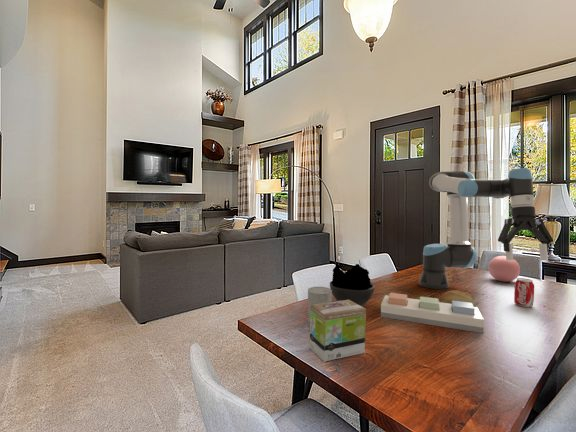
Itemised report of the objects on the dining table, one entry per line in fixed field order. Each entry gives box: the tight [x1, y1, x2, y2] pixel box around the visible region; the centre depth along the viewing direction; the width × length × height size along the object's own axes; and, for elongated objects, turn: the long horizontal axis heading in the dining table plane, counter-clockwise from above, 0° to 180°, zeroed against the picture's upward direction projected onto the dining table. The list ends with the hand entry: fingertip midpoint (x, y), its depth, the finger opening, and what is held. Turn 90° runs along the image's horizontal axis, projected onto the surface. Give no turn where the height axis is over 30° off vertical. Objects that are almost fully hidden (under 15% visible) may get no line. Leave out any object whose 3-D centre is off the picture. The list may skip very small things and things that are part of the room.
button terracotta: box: [388, 292, 408, 306], centre depth 128 cm, size 7×7×3 cm
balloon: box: [487, 255, 521, 283], centre depth 181 cm, size 15×20×15 cm
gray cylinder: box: [307, 286, 333, 323], centre depth 120 cm, size 10×10×12 cm
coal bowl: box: [329, 263, 376, 306], centre depth 137 cm, size 20×20×19 cm
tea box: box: [309, 300, 367, 363], centre depth 96 cm, size 15×10×15 cm
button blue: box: [452, 301, 475, 315], centre depth 118 cm, size 7×7×3 cm
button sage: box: [419, 296, 440, 310], centre depth 123 cm, size 7×7×3 cm
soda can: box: [513, 277, 535, 308], centre depth 138 cm, size 7×7×12 cm
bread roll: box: [439, 289, 478, 307], centre depth 134 cm, size 10×15×8 cm, turn 43°
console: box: [380, 294, 485, 334], centre depth 123 cm, size 14×36×5 cm, turn 65°
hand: (527, 260), depth 118 cm, fingers open, 13 cm apart
